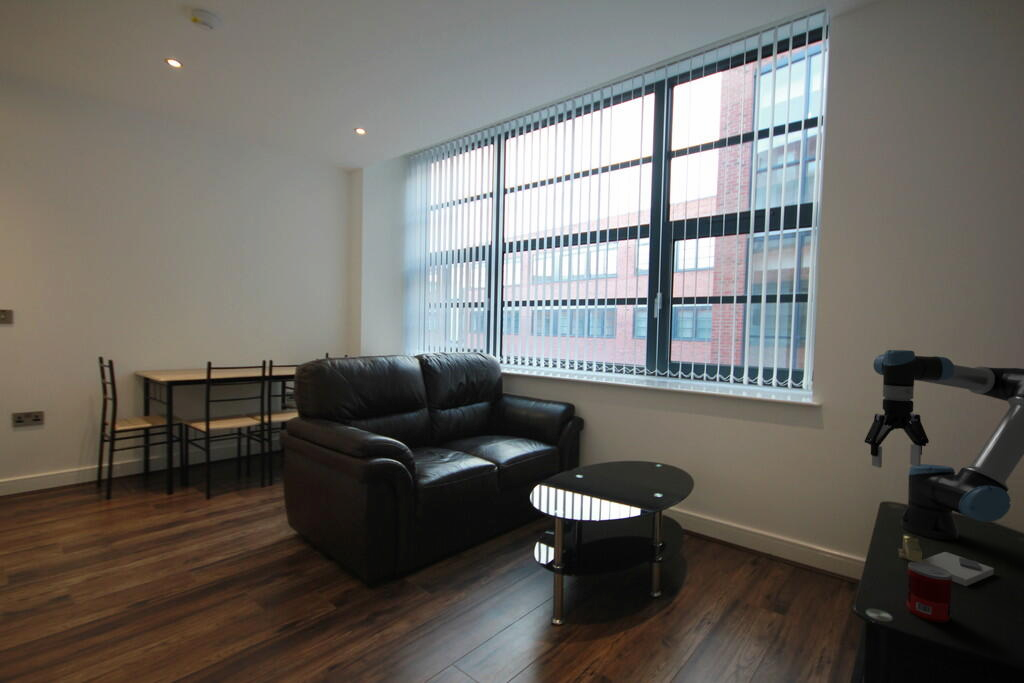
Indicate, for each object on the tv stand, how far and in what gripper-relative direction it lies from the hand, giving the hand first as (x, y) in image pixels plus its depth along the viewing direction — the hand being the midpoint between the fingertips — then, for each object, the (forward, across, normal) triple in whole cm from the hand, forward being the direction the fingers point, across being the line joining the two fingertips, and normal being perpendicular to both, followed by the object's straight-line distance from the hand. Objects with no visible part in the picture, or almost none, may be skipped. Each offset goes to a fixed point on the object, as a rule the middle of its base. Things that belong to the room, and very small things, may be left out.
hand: (896, 466), depth 150 cm
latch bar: (+25, -3, -9) cm, 27 cm away
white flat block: (+26, +5, -14) cm, 31 cm away
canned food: (+26, -25, -33) cm, 49 cm away
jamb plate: (+26, 0, -6) cm, 27 cm away
